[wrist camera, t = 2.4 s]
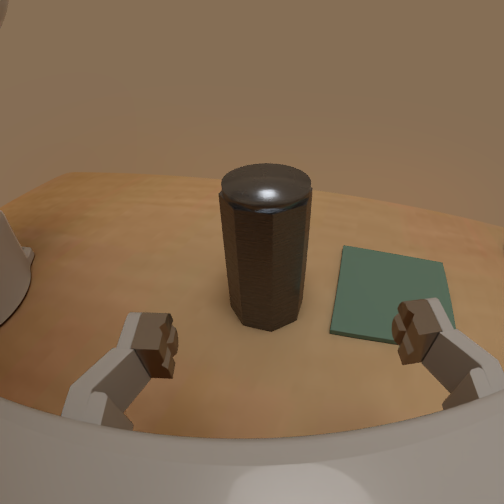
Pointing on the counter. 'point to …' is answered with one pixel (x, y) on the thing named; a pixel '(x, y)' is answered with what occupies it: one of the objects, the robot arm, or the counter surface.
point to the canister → (266, 242)
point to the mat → (383, 291)
